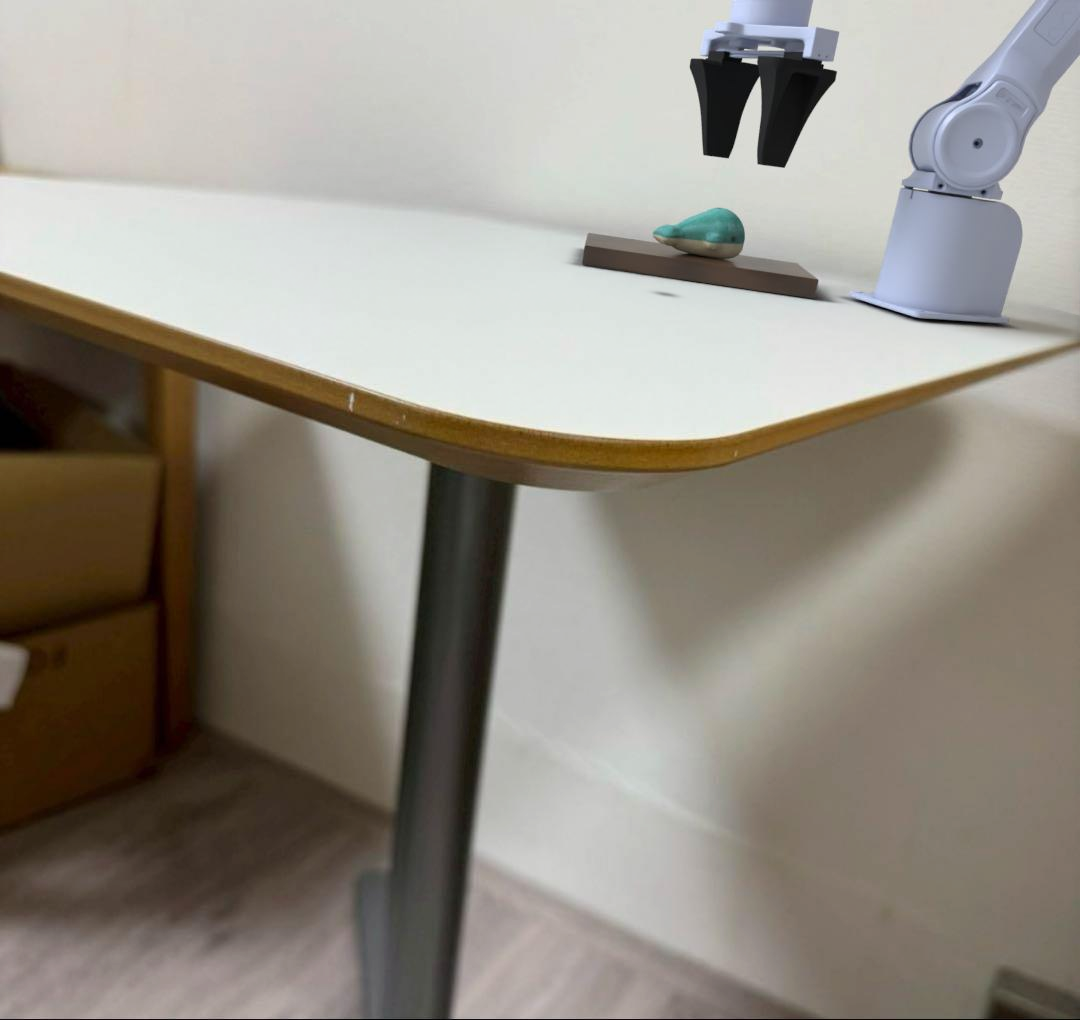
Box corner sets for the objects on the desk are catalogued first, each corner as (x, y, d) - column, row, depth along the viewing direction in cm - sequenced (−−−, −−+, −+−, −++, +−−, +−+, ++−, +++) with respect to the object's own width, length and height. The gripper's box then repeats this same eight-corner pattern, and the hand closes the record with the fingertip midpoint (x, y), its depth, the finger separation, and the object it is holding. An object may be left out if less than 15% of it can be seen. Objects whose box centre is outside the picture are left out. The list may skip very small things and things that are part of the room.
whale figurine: (753, 265, 83) (763, 215, 82) (667, 255, 81) (676, 205, 80) (722, 253, 89) (731, 206, 87) (641, 244, 87) (649, 196, 85)
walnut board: (793, 280, 90) (797, 263, 90) (814, 299, 81) (819, 279, 80) (585, 250, 90) (587, 232, 90) (581, 265, 81) (584, 245, 81)
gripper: (680, -40, 80) (651, 147, 85) (794, -55, 68) (752, 164, 73) (757, -24, 83) (724, 157, 88) (879, -35, 71) (833, 175, 76)
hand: (742, 161), depth 81 cm, fingers open, 7 cm apart
